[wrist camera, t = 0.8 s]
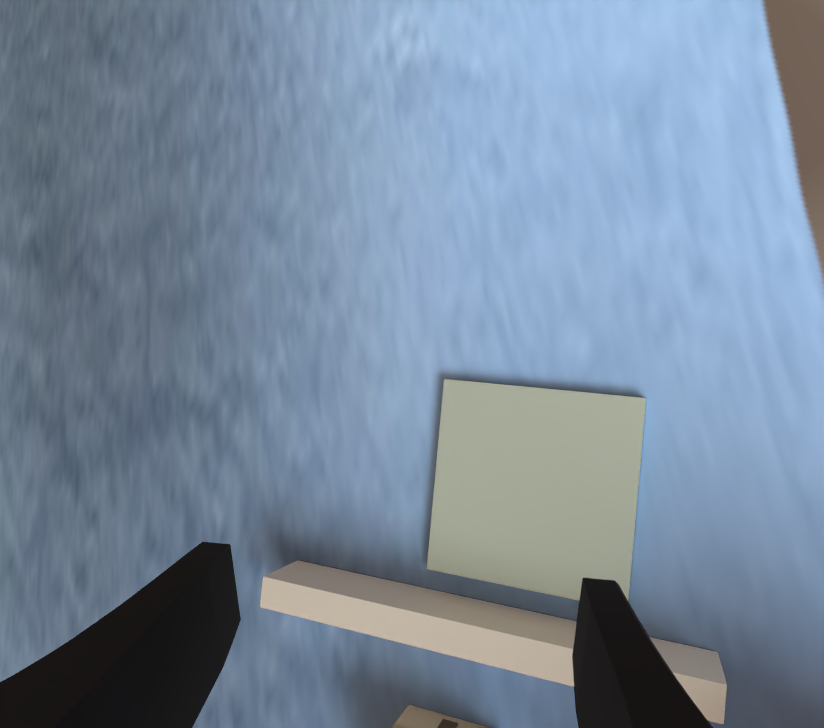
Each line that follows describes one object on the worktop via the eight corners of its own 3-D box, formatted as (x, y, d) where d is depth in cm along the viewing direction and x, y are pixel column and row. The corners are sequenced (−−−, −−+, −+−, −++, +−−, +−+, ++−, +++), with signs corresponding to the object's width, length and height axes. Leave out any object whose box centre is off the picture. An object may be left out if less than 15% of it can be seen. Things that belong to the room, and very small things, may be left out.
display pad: (627, 606, 30) (627, 610, 30) (430, 566, 34) (426, 569, 33) (646, 397, 30) (646, 398, 30) (447, 379, 34) (444, 379, 33)
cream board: (715, 687, 29) (723, 724, 26) (294, 587, 37) (259, 607, 33) (718, 652, 29) (727, 685, 26) (297, 560, 37) (262, 576, 33)
